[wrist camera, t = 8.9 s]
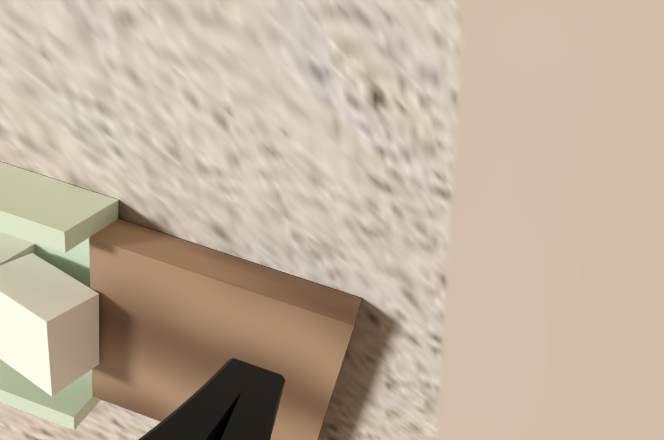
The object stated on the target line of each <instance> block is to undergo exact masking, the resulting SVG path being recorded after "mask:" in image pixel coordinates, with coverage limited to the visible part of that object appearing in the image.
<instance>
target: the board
mask: <svg viewBox="0 0 664 440" xmlns="http://www.w3.org/2000/svg"><path fill="white" fill-rule="evenodd" d="M89 257H90V289H92V290H94V291H95V292H97V293H99V365H97V366H96V367H94V368H93V369H92V396H93V397H96V398H99V399H101V400H104V401H107V402H109V403H112V404H115V405H118V406H120V407H123V408H126V409H128V410H131V411H134V412H137V413H139V414H142V415H145V416H147V417H150V418H153V419H155V420H158V421H161V422H162V421H163V420H164V419H165V418H166V417H168V416H169V415H170V414H171V413H172V412H173V411H175V410H176V409H177V408H178V407H179V406H181V405H182V404H183V403H184V402H185V401H186V400H188V399H189V398H190V397H191V396H192V395H193V394H194V393H195V392H196V391H197V390H199V389H200V388H201V387H202V386H203V385H204V384H205V383H206V382H207V381H208V380H209V379H210V378H211V377H212V376H213V375H214V374H215V373H216V372H217V371H218V370H219V369H220V368H221V367H222V366H223V365H224V364H225V363H226V362H227V361H228V360H229V359H232V358H235V359H238V360H241V361H244V362H247V363H249V364H252V365H255V366H258V367H261V368H264V369H267V370H269V371H272V372H275V373H278V374H281V375H282V376H283V377H284V379H285V384H284V388H283V392H282V396H281V400H280V404H279V408H278V411H277V415H276V419H275V423H274V427H273V431H272V434H271V439H270V440H317V439H318V436H319V433H320V430H321V427H322V423H323V420H324V417H325V414H326V411H327V408H328V405H329V402H330V399H331V396H332V393H333V390H334V387H335V384H336V381H337V377H338V374H339V371H340V368H341V365H342V362H343V359H344V356H345V353H346V350H347V347H348V344H349V341H350V338H351V335H352V331H353V328H354V325H355V322H356V318H357V314H358V311H359V307H360V304H361V300H362V298H360V297H357V296H354V295H350V294H347V293H344V292H341V291H338V290H335V289H332V288H329V287H326V286H323V285H320V284H317V283H314V282H311V281H308V280H305V279H302V278H298V277H295V276H292V275H289V274H286V273H283V272H280V271H277V270H274V269H271V268H268V267H265V266H262V265H259V264H256V263H253V262H250V261H246V260H243V259H240V258H237V257H234V256H231V255H228V254H225V253H222V252H219V251H216V250H213V249H210V248H207V247H204V246H201V245H198V244H194V243H191V242H188V241H185V240H182V239H179V238H176V237H173V236H170V235H167V234H164V233H161V232H158V231H155V230H152V229H149V228H146V227H142V226H139V225H136V224H133V223H130V222H127V221H124V220H121V219H117V220H115V221H114V222H112V223H111V224H109V225H108V226H106V227H104V228H103V229H101V230H100V231H98V232H97V233H95V234H94V235H92V236H91V237H89Z"/></svg>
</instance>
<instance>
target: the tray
mask: <svg viewBox="0 0 664 440" xmlns="http://www.w3.org/2000/svg"><path fill="white" fill-rule="evenodd" d="M117 219H118V200H117V199H114V198H111V197H108V196H105V195H102V194H99V193H96V192H93V191H90V190H86V189H83V188H80V187H77V186H74V185H71V184H68V183H65V182H62V181H59V180H55V179H52V178H49V177H46V176H43V175H40V174H37V173H34V172H31V171H28V170H24V169H21V168H18V167H15V166H12V165H9V164H6V163H3V162H0V232H3V233H6V234H9V235H12V236H15V237H18V238H21V239H24V240H26V241H29V242H32V243H35V250H36V256H38V257H40V258H41V259H43V260H45V261H46V262H48V263H49V264H51V265H53V266H54V267H56V268H58V269H59V270H61V271H63V272H64V273H66V274H68V275H69V276H71V277H72V278H74V279H76V280H77V281H79V282H81V283H82V284H84V285H86V286H87V287H89V288H90V257H89V237H91V236H92V235H94V234H95V233H97V232H98V231H100V230H101V229H103V228H104V227H106V226H108V225H109V224H111V223H112V222H114V221H115V220H117ZM100 400H101V399H99V398H96V397H93V396H92V369H91V370H90V371H89V372H87V373H86V374H84V375H83V376H81V377H80V378H78V379H77V380H76V381H74V382H73V383H71V384H70V385H68V386H67V387H65V388H64V389H63V390H61V391H60V392H58V393H57V394H55V395H54V396H50V395H49V394H48V393H46V392H45V391H43V390H42V389H41V388H39V387H38V386H37V385H35V384H34V383H33V382H31V381H30V380H28V379H27V378H26V377H24V376H23V375H22V374H20V373H19V372H18V371H16V370H15V369H13V368H12V367H11V366H9V365H8V364H7V363H5V362H4V361H3V360H1V359H0V402H1V403H4V404H7V405H9V406H12V407H15V408H17V409H20V410H23V411H25V412H28V413H31V414H33V415H36V416H38V417H41V418H44V419H46V420H49V421H52V422H54V423H57V424H60V425H62V426H65V427H68V428H70V429H73V430H75V429H76V428H77V426H78V425H79V424H80V423H81V422H82V421H83V419H84V418H85V417H86V416H87V415H88V414H89V413H90V411H91V410H92V409H93V408H94V407H95V406H96V405H97V403H98V402H99V401H100Z"/></svg>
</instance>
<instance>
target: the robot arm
mask: <svg viewBox="0 0 664 440" xmlns="http://www.w3.org/2000/svg"><path fill="white" fill-rule="evenodd" d="M284 384H285V379H284V377H283V376H282V375H281V374H278V373H275V372H272V371H269V370H267V369H264V368H261V367H258V366H255V365H252V364H249V363H247V362H244V361H241V360H238V359H235V358H232V359H229V360H228V361H227V362H226V363H225V364H224V365H223V366H222V367H221V368H220V369H219V370H218V371H217V372H216V373H215V374H214V375H213V376H212V377H211V378H210V379H209V380H208V381H207V382H206V383H205V384H204V385H203V386H202V387H201V388H200V389H199V390H197V391H196V392H195V393H194V394H193V395H192V396H191V397H190V398H189V399H188V400H186V401H185V402H184V403H183V404H182V405H181V406H179V407H178V408H177V409H176V410H175V411H173V412H172V413H171V414H170V415H169V416H168V417H166V418H165V419H164V420H163V421H162V422H160V423H159V424H158V425H157V426H156V427H154V428H153V429H152V430H150V431H149V432H148V433H147V434H145V435H144V436H143V437H141V438H140V439H139V440H270V439H271V434H272V431H273V427H274V423H275V419H276V415H277V411H278V408H279V404H280V400H281V396H282V392H283V388H284Z"/></svg>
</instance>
